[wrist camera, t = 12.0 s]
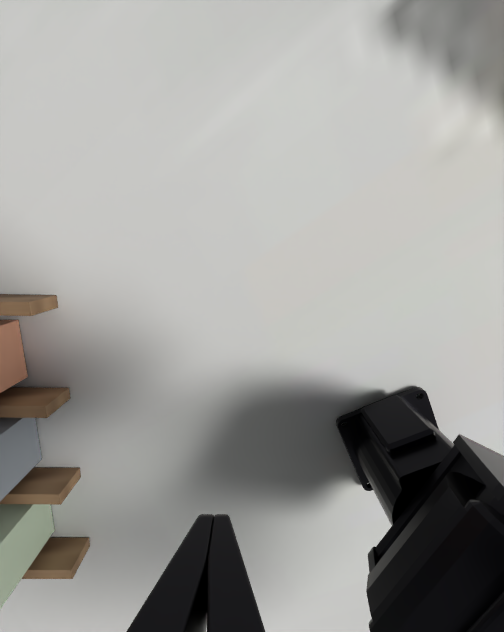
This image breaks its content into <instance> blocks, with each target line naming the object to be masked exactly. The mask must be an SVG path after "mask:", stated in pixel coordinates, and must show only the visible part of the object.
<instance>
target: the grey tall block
mask: <svg viewBox="0 0 504 632" xmlns="http://www.w3.org/2000/svg"><path fill="white" fill-rule="evenodd" d="M41 459H42V456H41V450H40V444H39V438H38V432H37V426H36V420H35V418H7V417H0V501H1V500H2V499H3V498H4V497H5V496H6V495H7V494H8V493H9V492H10V491H11V490H12V489H13V488H14V487H15V486H16V485H17V484H18V483H19V482H20V481H21V480H22V479H23V478H24V477H25V476H26V475H27V474H28V473H29V472H30V471H31V470H32V468H33V467H34V466H35V465H36V464H37V463H38V462H39V461H40V460H41Z"/></svg>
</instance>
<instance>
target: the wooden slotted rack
mask: <svg viewBox="0 0 504 632" xmlns="http://www.w3.org/2000/svg"><path fill="white" fill-rule="evenodd" d="M55 308H58V303H57V296H56V295H14V294H0V315H8V316H33V315H36V314H39V313H42V312H45V311H48V310H52V309H55ZM69 399H70V393H69V388H34V387H10V388H8V389H6V390H5V391H3V392H1V393H0V417H7V418H48V417H49V416H50V415H51V414H52V413H54V412H55V411H56V410H57V409H58V408H60V407H61V406H62V405H63V404H64V403H65V402H67V401H68V400H69ZM80 477H81V474H80V468H32V470H31V471H30V472H29V473H28V474H27V475H26V476H25V477H24V478H23V479H22V480H21V481H20V482H19V483H18V484H17V485H16V486H15V487H14V488H13V489H12V490H11V491H10V492H9V493H8V494H7V495H6V496H5V497H4V498H3V499H2V500H1V501H0V504H62V502H63V501H64V499H65V498H66V497H67V495H68V494H69V493H70V491H71V490H72V488H73V487H74V486H75V484H76V483H77V482H78V480H79V479H80ZM89 547H90V542H89V538H49V539H48V541H47V542H46V543H45V545H44V546H43V548H42V549H41V551H40V552H39V554H38V555H37V557H36V558H35V560H34V561H33V562H32V564H31V565H30V567H29V568H28V570H27V571H26V573H25V574H24V576H23V577H22V579H73V577H74V575H75V573H76V571H77V569H78V567H79V565H80V564H81V562H82V560H83V558H84V556H85V554H86V552H87V550H88V549H89Z"/></svg>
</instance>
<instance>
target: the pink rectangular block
mask: <svg viewBox="0 0 504 632" xmlns="http://www.w3.org/2000/svg"><path fill="white" fill-rule="evenodd" d="M27 377H28V375H27V369H26V363H25V357H24V351H23V345H22V339H21V333H20V327H19V321H18V320H0V393H1V392H3V391H5V390H6V389H8V388H10V387H11V386H13V385H15V384H17V383H18V382H20V381H22V380H23V379H25V378H27Z"/></svg>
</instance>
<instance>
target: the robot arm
mask: <svg viewBox="0 0 504 632" xmlns="http://www.w3.org/2000/svg"><path fill="white" fill-rule="evenodd" d="M418 393H420V395H419V396H418V397H416V396H417V394H418ZM344 422H346V424H345V425H342V423H344ZM336 425H337V427H338V430H339V432H340V434H341V437H342V439H343V441H344V444H345V446H346V449H347V451H348V453H349V456H350V458H351V460H352V463H353V465H354V467H355V470H356V472H357V475H358V477H359V479H360V482H361V484H362V486H363V488H364V489H365V490H367V491H371V490H374V492H375V494H376V496H377V498H378V500H379V502H380V504H381V505H382V507H383V509H384V511H385V513H386V515H387V517H388V519H389V521H390V523H391V525H392V527H391V528H390V529H389V531H388V532H387V533H386V535H385V536H384V537H383V539H382V540H381V541H380V542H379V544H378V545H377V546H376V547H373V548H372V549H371V551H370V552H369V553H368V561H369V571H370V573H369V575H368V582H367V591H366V592H367V597H368V602H369V607H370V613H371V617H372V620H371V621H370V622H369V628H370V632H504V456H503V455H501V454H499V453H497V452H495V451H493V450H491V449H489V448H486V447H484V446H482V445H480V444H478V443H476V442H474V441H472V440H470V439H468V438H466V437H464V436H462V435H460V434H459V435H458V437H457V438H456V439H455V441H454V442H453V443H454V444H453V443H452V442H451V441H450V440H449V439H448V438H447V437H446V436H445V435H444V434H442V433H441V432H440V431H439V429H438V426H437V423H436V420H435V417H434V414H433V411H432V408H431V405H430V402H429V399H428V396H427V393H426V392H425V391H424V390H423V389H422V388H420V387H415V388H412V389H410V390H407V391H405V392H402V393H400V394H397V395H393V396H391V397H388V398H385V399H383V400H380V401H378V402H375V403H373V404H370V405H368V406H365V407H363V408H361V409H359V410H356V411H354V412H351V413H349V414H346V415H343V416H341V417H339V418H338V419H337V421H336ZM369 482H370V483H369ZM367 483H369V484H367ZM206 626H207V632H265V629H264V626H263V623H262V620H261V616H260V613H259V610H258V607H257V604H256V600H255V597H254V594H253V591H252V588H251V584H250V581H249V578H248V575H247V572H246V568H245V565H244V562H243V559H242V556H241V552H240V549H239V546H238V543H237V540H236V536H235V533H234V530H233V527H232V524H231V520H230V517H229V516H228V515H227V514H217V515H215V516H213V515H212V514H202V515H199V516H198V518H197V519H196V521H195V523H194V524H193V526H192V527H191V529H190V531H189V532H188V534H187V535H186V537H185V539H184V540H183V542H182V543H181V545H180V547H179V548H178V550H177V551H176V553H175V555H174V556H173V558H172V559H171V561H170V563H169V564H168V566H167V567H166V569H165V571H164V572H163V574H162V575H161V577H160V579H159V580H158V582H157V584H156V585H155V587H154V588H153V590H152V592H151V593H150V595H149V596H148V598H147V600H146V601H145V603H144V604H143V606H142V608H141V609H140V611H139V612H138V614H137V616H136V617H135V619H134V620H133V622H132V624H131V625H130V627H129V628H128V630H127V632H206Z"/></svg>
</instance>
